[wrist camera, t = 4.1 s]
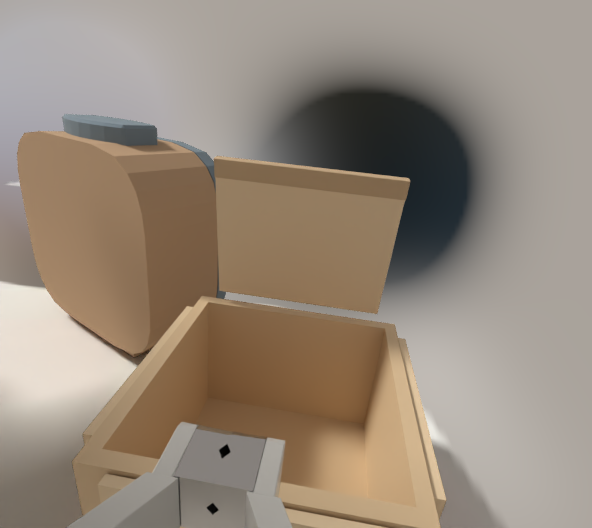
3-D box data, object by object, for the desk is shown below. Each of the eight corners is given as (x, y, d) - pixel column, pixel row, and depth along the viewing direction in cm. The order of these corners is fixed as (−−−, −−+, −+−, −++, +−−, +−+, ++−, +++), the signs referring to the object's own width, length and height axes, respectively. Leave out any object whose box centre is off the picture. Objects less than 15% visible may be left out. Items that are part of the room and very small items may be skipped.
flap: (378, 314, 27) (410, 181, 22) (218, 290, 28) (213, 158, 23) (377, 309, 28) (408, 178, 23) (221, 286, 29) (217, 155, 24)
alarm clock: (228, 338, 41) (234, 133, 33) (154, 383, 34) (137, 133, 25) (119, 280, 51) (102, 111, 43) (43, 305, 44) (5, 107, 35)
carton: (80, 609, 19) (47, 471, 15) (195, 393, 33) (194, 294, 29) (404, 682, 17) (462, 552, 14) (378, 425, 32) (402, 325, 28)
